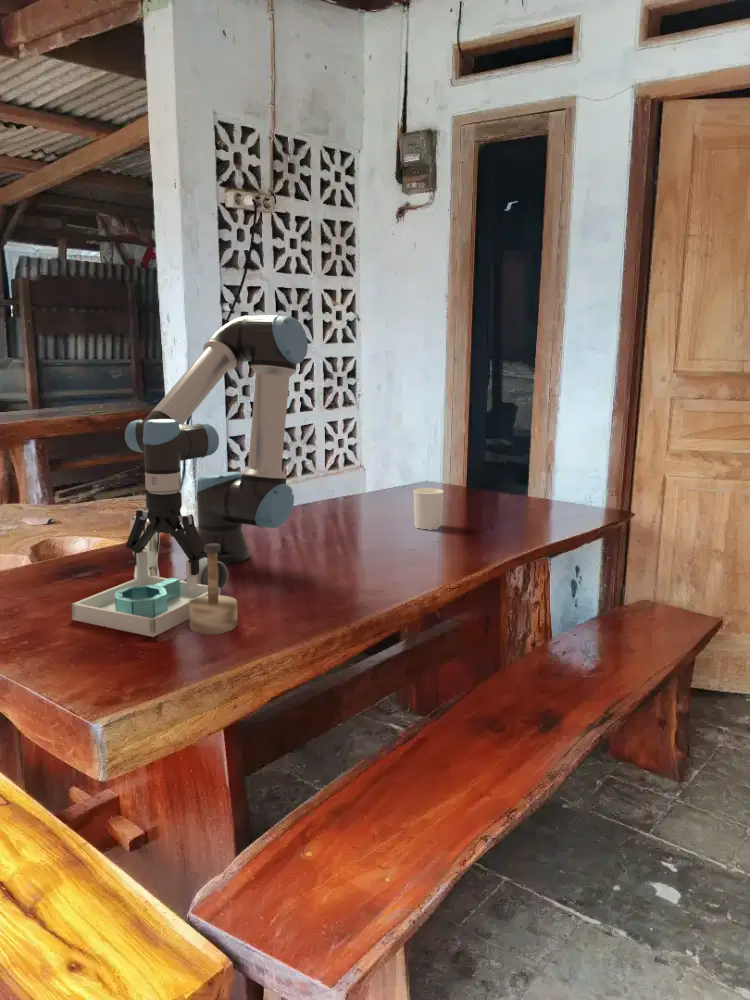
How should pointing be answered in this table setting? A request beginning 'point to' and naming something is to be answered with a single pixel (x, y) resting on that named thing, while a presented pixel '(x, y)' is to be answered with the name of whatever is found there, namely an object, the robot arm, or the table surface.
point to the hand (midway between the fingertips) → (167, 584)
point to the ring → (147, 598)
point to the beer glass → (149, 551)
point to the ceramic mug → (203, 573)
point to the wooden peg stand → (213, 602)
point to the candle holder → (428, 507)
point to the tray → (104, 614)
